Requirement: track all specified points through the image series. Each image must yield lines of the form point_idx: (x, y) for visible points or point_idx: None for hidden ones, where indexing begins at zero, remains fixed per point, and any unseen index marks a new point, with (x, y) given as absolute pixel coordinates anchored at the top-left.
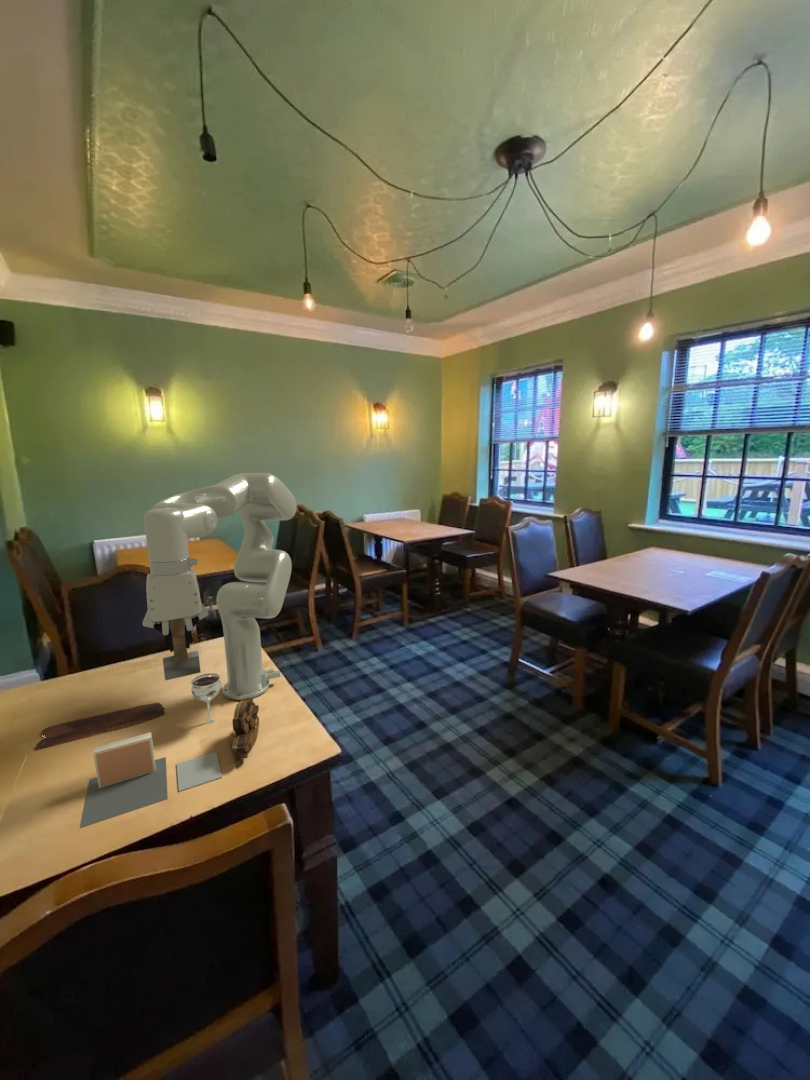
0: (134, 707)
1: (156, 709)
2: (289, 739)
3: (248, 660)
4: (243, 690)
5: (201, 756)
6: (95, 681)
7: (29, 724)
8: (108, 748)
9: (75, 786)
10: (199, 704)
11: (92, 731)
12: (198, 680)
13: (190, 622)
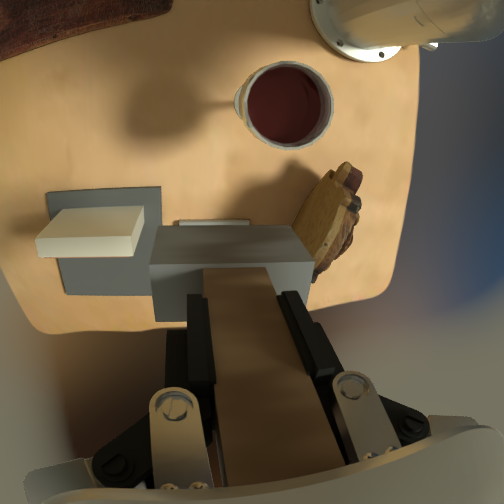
0: None
1: None
2: (361, 238)
3: (416, 42)
4: (354, 42)
5: (222, 222)
6: None
7: None
8: (59, 256)
9: (32, 194)
10: (250, 8)
11: (35, 35)
12: (269, 69)
13: (348, 463)
